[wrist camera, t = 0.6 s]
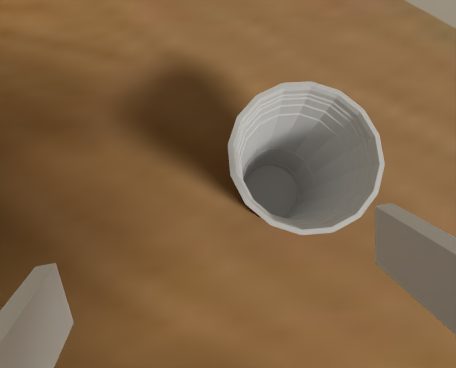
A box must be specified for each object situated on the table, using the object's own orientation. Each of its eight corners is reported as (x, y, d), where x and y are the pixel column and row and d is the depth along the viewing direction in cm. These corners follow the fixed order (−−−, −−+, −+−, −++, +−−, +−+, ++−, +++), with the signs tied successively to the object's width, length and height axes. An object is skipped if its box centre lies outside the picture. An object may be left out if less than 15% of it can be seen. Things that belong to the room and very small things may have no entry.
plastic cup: (195, 213, 34) (197, 181, 22) (246, 124, 37) (273, 54, 25) (294, 269, 33) (350, 266, 22) (338, 175, 36) (408, 127, 25)
